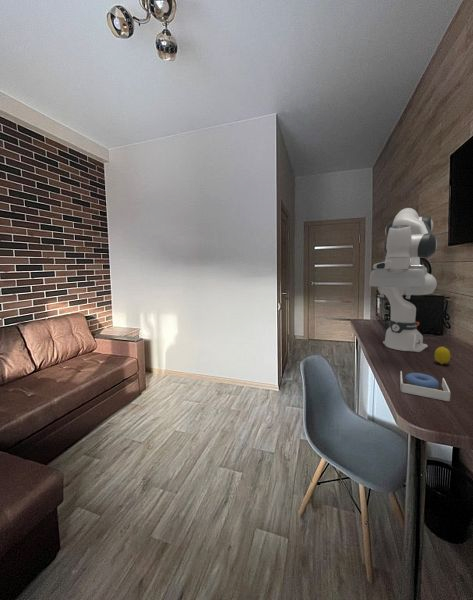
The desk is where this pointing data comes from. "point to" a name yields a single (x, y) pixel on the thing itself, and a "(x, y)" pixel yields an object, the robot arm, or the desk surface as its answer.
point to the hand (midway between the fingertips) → (394, 298)
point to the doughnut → (421, 380)
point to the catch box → (426, 390)
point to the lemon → (442, 355)
